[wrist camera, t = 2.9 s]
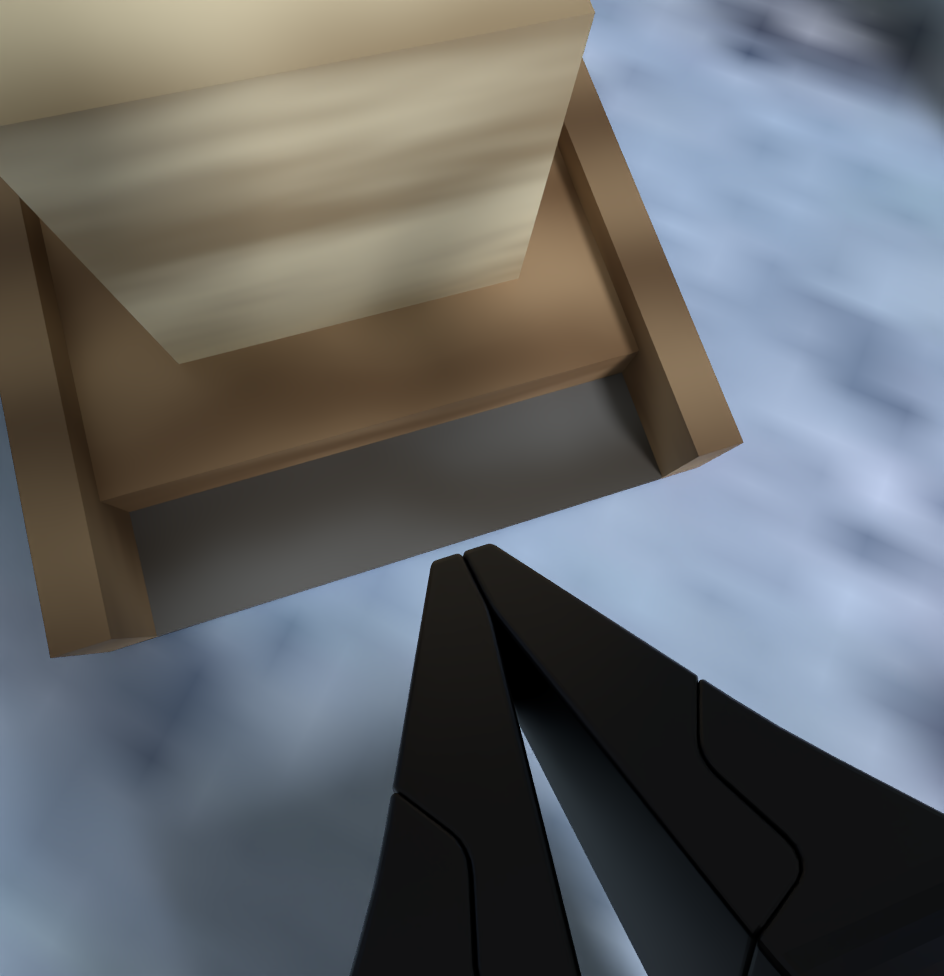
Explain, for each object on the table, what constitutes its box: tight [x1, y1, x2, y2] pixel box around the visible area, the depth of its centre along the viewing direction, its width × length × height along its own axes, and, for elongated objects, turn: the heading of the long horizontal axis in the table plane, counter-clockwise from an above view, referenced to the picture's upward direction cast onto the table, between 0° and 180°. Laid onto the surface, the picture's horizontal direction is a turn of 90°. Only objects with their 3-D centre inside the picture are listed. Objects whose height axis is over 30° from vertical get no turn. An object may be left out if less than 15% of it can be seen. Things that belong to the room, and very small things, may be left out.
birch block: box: [0, 0, 595, 364], centre depth 16 cm, size 11×11×9 cm
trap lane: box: [0, 58, 743, 658], centre depth 21 cm, size 36×20×4 cm, turn 18°
